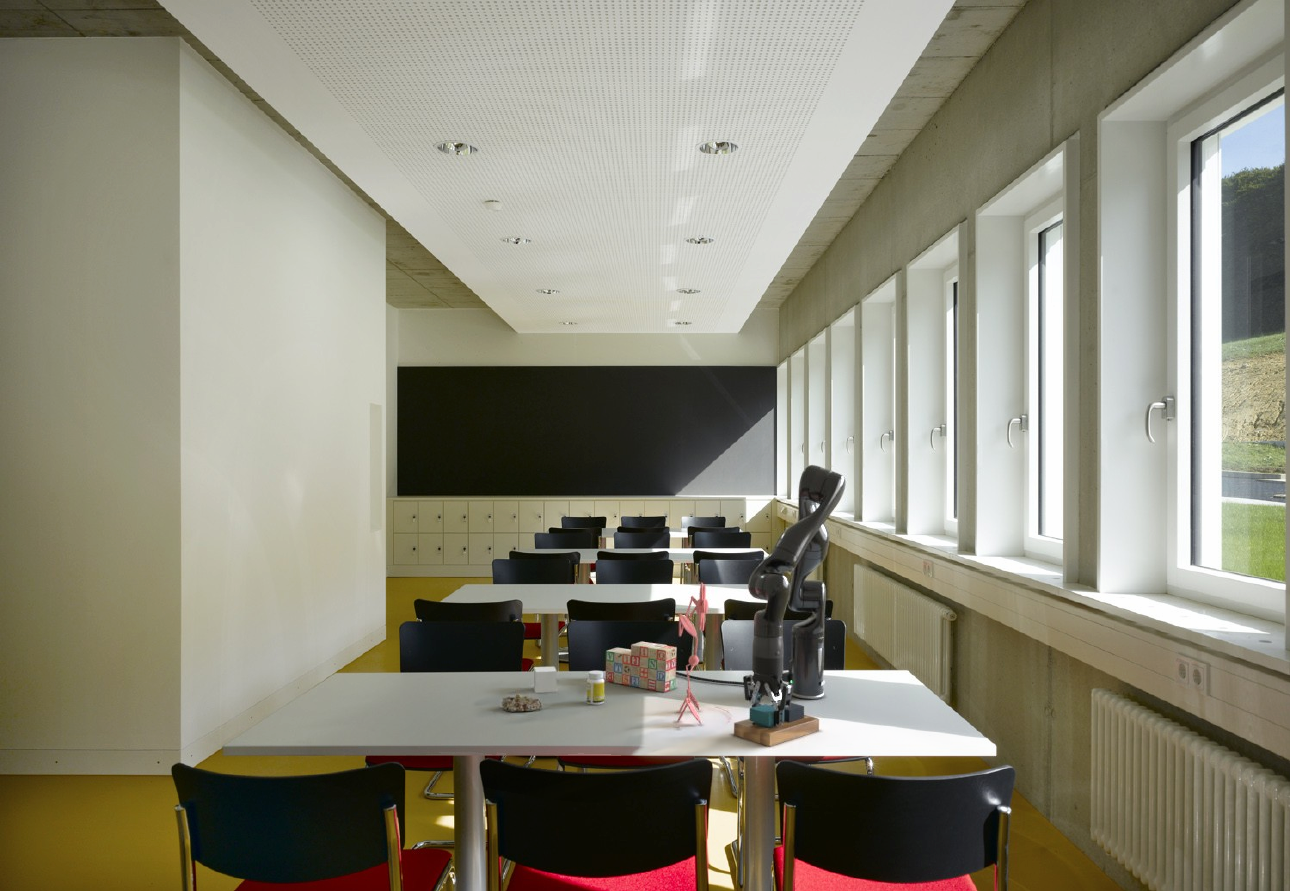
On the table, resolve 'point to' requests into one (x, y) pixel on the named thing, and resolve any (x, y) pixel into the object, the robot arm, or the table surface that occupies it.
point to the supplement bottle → (595, 688)
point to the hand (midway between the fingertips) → (766, 722)
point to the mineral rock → (520, 703)
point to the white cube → (544, 679)
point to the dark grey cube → (793, 713)
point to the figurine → (693, 660)
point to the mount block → (776, 730)
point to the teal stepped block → (763, 715)
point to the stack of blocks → (643, 666)
